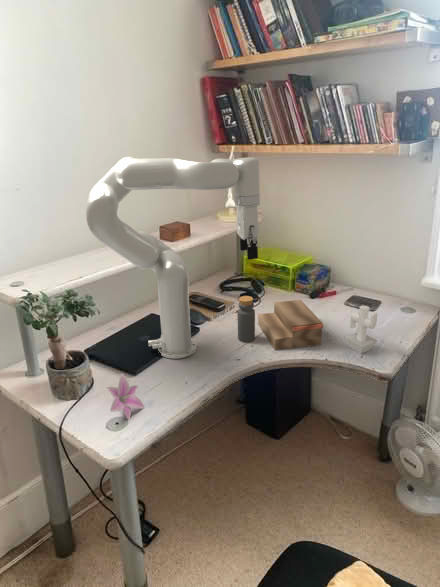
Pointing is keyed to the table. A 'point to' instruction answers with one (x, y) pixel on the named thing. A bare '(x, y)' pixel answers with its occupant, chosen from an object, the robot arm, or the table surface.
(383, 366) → the table surface
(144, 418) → the table surface
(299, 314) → the step stand
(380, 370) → the table surface
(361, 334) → the figurine
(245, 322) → the bottle
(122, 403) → the lily
